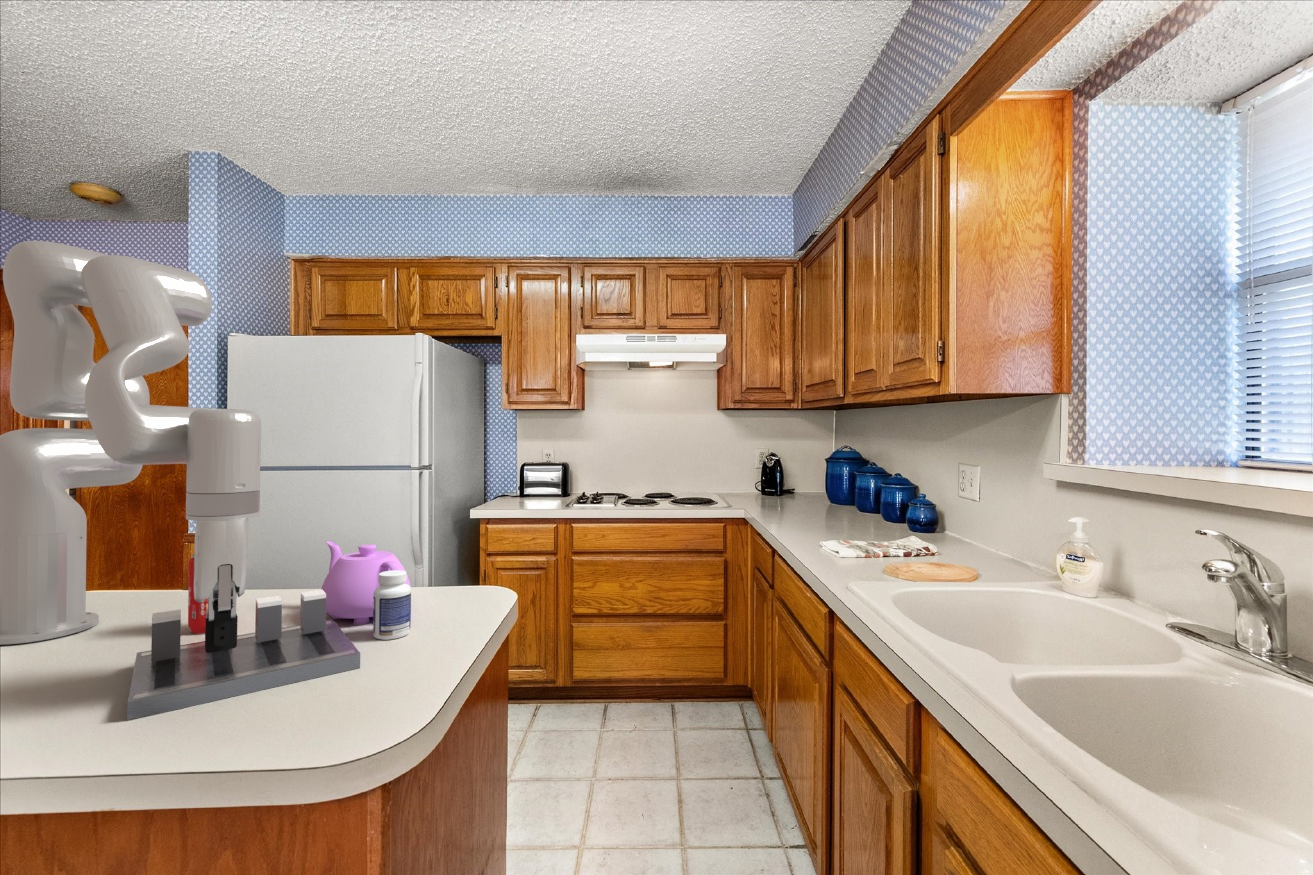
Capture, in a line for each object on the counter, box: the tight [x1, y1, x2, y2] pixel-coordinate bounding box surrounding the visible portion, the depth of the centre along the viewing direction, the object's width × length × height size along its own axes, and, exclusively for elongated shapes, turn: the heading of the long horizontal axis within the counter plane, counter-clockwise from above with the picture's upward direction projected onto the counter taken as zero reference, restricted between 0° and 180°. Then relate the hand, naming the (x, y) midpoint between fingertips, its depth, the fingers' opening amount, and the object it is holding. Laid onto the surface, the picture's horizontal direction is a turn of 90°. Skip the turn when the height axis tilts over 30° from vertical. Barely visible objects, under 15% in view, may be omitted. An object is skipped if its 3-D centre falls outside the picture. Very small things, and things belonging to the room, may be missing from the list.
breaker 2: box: [254, 595, 283, 643], centre depth 81 cm, size 3×3×5 cm
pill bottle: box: [372, 570, 412, 641], centre depth 90 cm, size 5×5×10 cm
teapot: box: [320, 540, 412, 626], centre depth 100 cm, size 20×14×12 cm
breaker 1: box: [150, 609, 182, 662], centre depth 74 cm, size 3×3×5 cm
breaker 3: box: [299, 589, 327, 634], centre depth 84 cm, size 3×3×5 cm
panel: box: [126, 618, 361, 721], centre depth 76 cm, size 18×23×2 cm
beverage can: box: [187, 554, 208, 635], centre depth 91 cm, size 5×5×12 cm
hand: (221, 648), depth 73 cm, fingers closed
